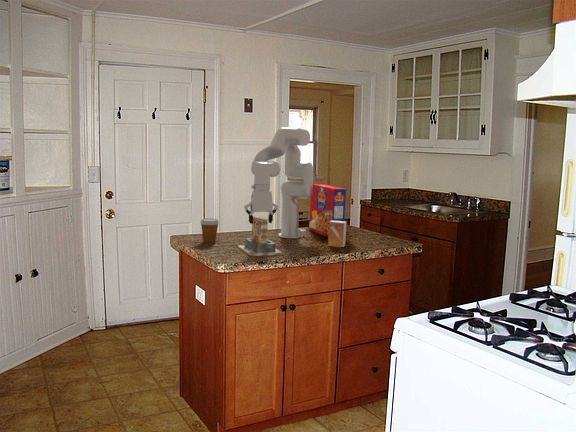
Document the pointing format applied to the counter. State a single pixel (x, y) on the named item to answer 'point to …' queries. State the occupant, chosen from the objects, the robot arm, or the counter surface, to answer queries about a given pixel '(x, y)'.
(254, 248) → the slot stand
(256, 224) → the candy box
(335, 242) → the small box
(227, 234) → the counter surface
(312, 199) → the pasta box
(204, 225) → the disposable coffee cup
